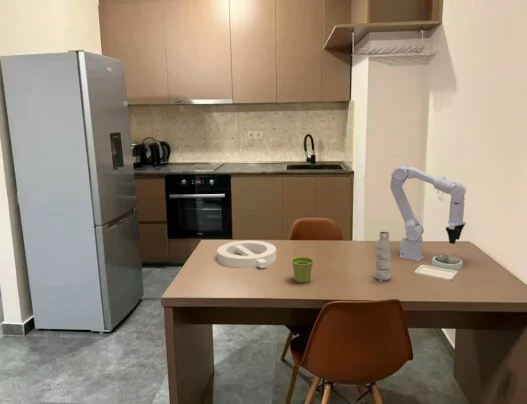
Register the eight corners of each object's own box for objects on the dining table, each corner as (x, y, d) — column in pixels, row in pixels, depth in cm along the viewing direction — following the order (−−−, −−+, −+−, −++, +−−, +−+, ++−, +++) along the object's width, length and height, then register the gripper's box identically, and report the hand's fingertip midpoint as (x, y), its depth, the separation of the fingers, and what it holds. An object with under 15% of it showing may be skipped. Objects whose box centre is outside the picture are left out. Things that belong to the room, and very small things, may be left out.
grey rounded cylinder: (446, 267, 193) (447, 257, 192) (449, 264, 196) (449, 254, 195) (457, 269, 190) (458, 259, 189) (459, 266, 194) (460, 256, 193)
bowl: (429, 268, 194) (429, 261, 193) (436, 260, 203) (437, 253, 202) (458, 273, 187) (458, 266, 186) (464, 265, 196) (465, 258, 195)
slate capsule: (434, 265, 196) (435, 255, 195) (437, 262, 199) (438, 252, 198) (445, 267, 193) (445, 257, 192) (447, 264, 197) (448, 254, 196)
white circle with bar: (266, 271, 194) (265, 261, 193) (208, 265, 202) (207, 255, 201) (282, 251, 220) (282, 242, 219) (230, 247, 228) (230, 238, 228)
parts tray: (413, 275, 186) (413, 271, 186) (421, 267, 194) (421, 264, 194) (451, 282, 177) (451, 279, 177) (457, 274, 186) (457, 271, 186)
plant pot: (286, 279, 183) (286, 259, 181) (303, 274, 189) (303, 255, 187) (301, 286, 176) (301, 266, 174) (318, 281, 181) (318, 261, 179)
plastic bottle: (391, 277, 184) (393, 231, 180) (390, 283, 177) (392, 235, 173) (375, 275, 186) (376, 230, 182) (373, 281, 179) (375, 234, 175)
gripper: (462, 216, 186) (460, 246, 189) (469, 209, 197) (467, 238, 200) (445, 214, 190) (442, 244, 193) (453, 207, 202) (451, 236, 204)
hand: (454, 241), depth 197 cm, fingers open, 7 cm apart
